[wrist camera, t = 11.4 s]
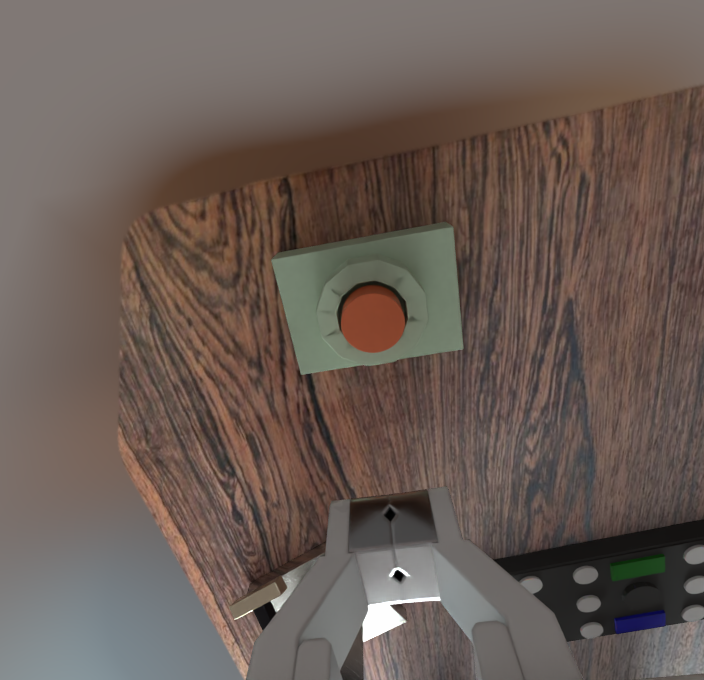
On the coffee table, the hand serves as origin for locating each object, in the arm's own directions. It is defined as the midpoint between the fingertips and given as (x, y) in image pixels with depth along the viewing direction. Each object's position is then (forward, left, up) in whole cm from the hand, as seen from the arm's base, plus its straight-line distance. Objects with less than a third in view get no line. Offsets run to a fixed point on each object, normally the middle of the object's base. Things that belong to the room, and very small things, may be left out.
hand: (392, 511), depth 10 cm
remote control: (+34, -14, -19) cm, 42 cm away
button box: (0, 0, -19) cm, 19 cm away
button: (0, 0, -15) cm, 15 cm away
